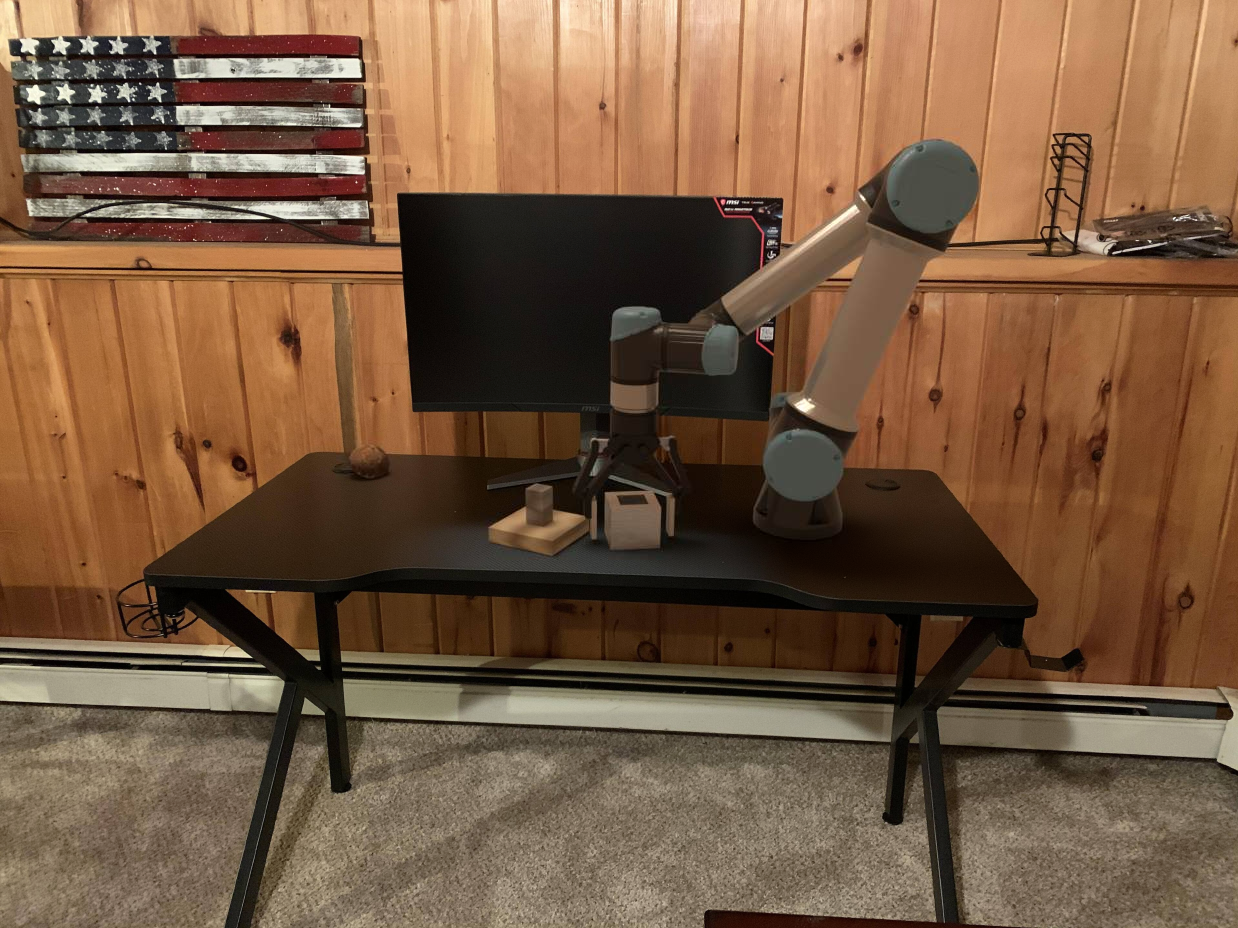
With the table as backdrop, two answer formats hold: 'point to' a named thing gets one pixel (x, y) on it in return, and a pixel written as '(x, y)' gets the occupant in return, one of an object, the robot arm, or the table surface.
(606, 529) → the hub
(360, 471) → the brown round lump
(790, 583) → the table surface
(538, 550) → the block
